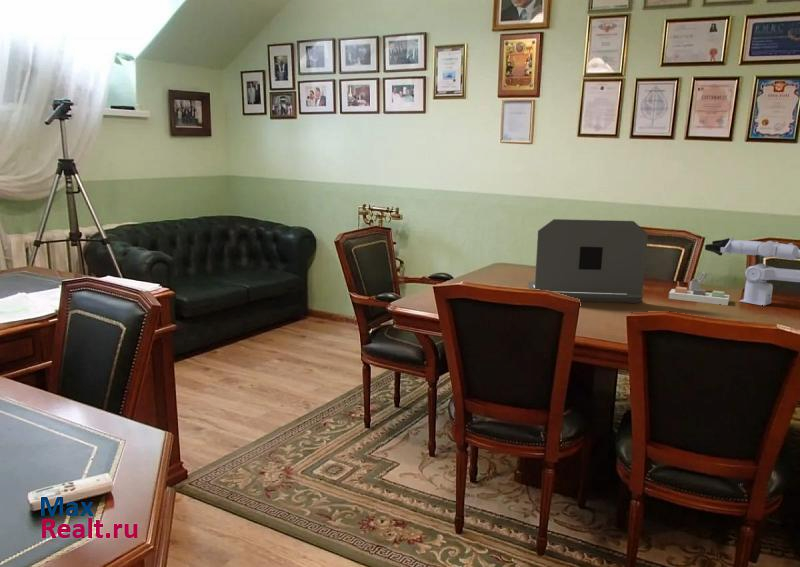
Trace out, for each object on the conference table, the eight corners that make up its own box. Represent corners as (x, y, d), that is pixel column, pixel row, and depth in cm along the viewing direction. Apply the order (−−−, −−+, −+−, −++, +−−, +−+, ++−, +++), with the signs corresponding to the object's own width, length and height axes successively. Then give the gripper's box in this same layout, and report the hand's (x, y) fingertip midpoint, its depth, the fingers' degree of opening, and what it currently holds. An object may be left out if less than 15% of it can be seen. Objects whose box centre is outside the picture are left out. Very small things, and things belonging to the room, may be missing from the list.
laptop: (622, 288, 278) (628, 214, 271) (641, 304, 248) (649, 221, 241) (525, 285, 282) (530, 212, 275) (533, 301, 252) (538, 219, 245)
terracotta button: (686, 294, 260) (687, 287, 260) (685, 296, 257) (686, 289, 256) (675, 293, 262) (676, 286, 262) (674, 295, 259) (675, 288, 258)
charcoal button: (704, 296, 257) (705, 289, 256) (704, 298, 253) (704, 291, 253) (693, 295, 259) (694, 288, 258) (692, 297, 255) (693, 290, 255)
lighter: (691, 291, 273) (693, 273, 271) (688, 290, 274) (690, 272, 273) (705, 290, 274) (707, 273, 272) (702, 289, 276) (704, 272, 274)
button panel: (728, 301, 255) (729, 295, 254) (727, 305, 247) (728, 299, 246) (671, 294, 265) (672, 288, 265) (668, 298, 258) (669, 292, 257)
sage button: (723, 298, 253) (724, 291, 253) (723, 300, 250) (723, 293, 249) (712, 297, 255) (713, 290, 255) (711, 299, 252) (712, 292, 251)
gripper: (750, 234, 257) (715, 232, 267) (737, 241, 247) (702, 239, 257) (749, 251, 258) (715, 248, 268) (736, 258, 249) (702, 256, 259)
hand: (709, 245), depth 263 cm, fingers open, 7 cm apart
